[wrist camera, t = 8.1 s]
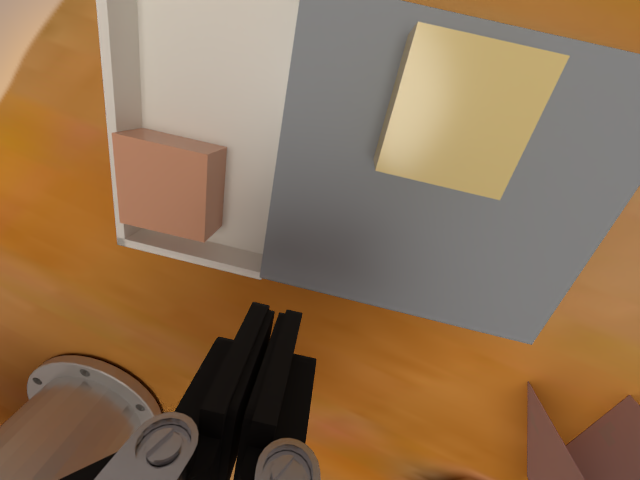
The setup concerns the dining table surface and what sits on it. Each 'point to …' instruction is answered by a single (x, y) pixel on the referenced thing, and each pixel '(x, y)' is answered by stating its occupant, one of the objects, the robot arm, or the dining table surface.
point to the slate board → (436, 201)
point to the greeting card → (585, 446)
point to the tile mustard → (464, 109)
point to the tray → (203, 105)
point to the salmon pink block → (169, 183)
